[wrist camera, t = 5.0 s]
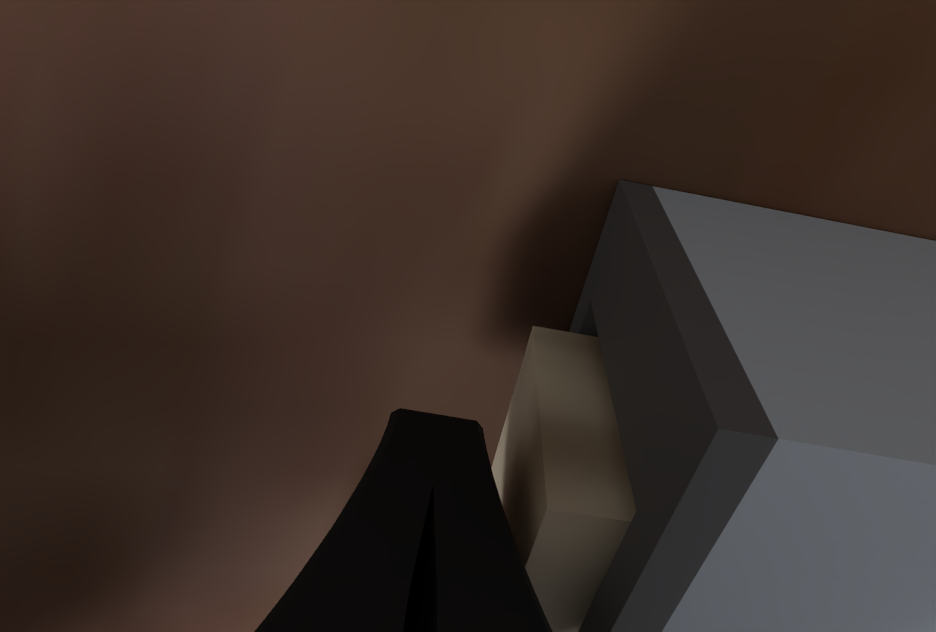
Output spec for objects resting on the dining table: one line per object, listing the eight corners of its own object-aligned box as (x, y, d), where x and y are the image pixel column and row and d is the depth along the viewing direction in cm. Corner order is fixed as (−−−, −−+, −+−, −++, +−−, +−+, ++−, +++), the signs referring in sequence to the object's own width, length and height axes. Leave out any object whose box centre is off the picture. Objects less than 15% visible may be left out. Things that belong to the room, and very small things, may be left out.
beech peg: (485, 487, 12) (481, 689, 9) (533, 321, 10) (549, 509, 7) (997, 568, 13) (1150, 780, 10) (1138, 428, 11) (1383, 639, 8)
